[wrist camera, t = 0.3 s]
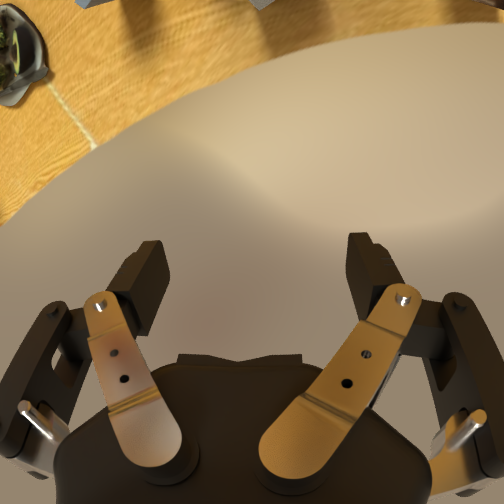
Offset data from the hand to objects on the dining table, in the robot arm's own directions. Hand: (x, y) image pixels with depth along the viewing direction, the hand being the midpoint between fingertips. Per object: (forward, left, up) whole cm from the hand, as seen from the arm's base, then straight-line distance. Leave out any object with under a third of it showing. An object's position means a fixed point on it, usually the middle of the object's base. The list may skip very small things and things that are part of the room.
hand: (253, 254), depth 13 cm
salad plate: (-32, -25, -31) cm, 51 cm away
